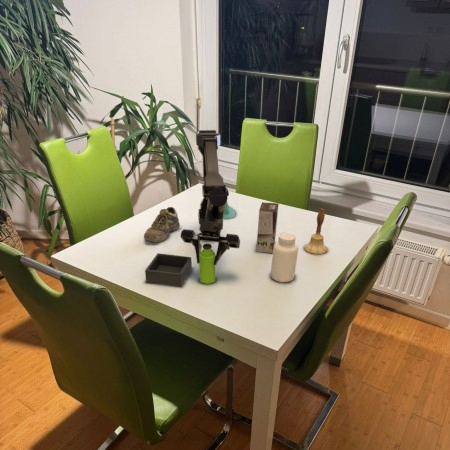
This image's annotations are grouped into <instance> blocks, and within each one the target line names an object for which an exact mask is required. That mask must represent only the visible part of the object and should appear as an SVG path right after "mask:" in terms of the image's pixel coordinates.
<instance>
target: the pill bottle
mask: <svg viewBox="0 0 450 450" xmlns="http://www.w3.org/2000/svg"><path fill="white" fill-rule="evenodd" d="M298 253H299V246H298V244H297V243H296V235H295V234H293V233H290V232H281V233H279V235H278V241H275V244H274V248H273V252H272V258H271V268H270V276H271V278H272V279H273V280H274V281H277V282H280V283H288V282H291V281H293V280H294V278H295V275H296V269H297V268H296V266H297V259H298V255H299V254H298Z"/></svg>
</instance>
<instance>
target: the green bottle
mask: <svg viewBox="0 0 450 450" xmlns="http://www.w3.org/2000/svg"><path fill="white" fill-rule="evenodd" d="M212 247H213V246H212V244H211V243H204V244H202V249H201V252H200V253H199V266H198V268H199V269H198V270H199V281H200V282H201V283H203V284H207V285H209V284H212V283H215V281H216V265H214V261H215V256H216V252H215V251H214V250H213V249H212Z"/></svg>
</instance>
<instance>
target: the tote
mask: <svg viewBox="0 0 450 450" xmlns="http://www.w3.org/2000/svg"><path fill="white" fill-rule="evenodd" d="M192 264H193V263H192V256H187V255H186V256H185V255H175V254H167V253H160V252H159V253H158V252H157V253H156V255H155V256H154V258H153V259H151V261H150V263H149V264H148V265H147V267H146V268H145V270H144V274H145V282H146V283H149V284H156V285H157V284H158V285H166V286H174V287H180V288H181V287H183V286H184V284H185V282H186V280H187V278H188V277H189V275H190V273H191V271H192V269H193V265H192Z"/></svg>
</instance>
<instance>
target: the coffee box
mask: <svg viewBox="0 0 450 450" xmlns="http://www.w3.org/2000/svg"><path fill="white" fill-rule="evenodd" d="M278 213H279V203H276V202H263V201H262V202H261V204H260V207H259V210H258V222H257V235H256V247H255V248H256V252H259V253H260V252H261V253H269V254H273V248H274V244H275V243H276V237H277V236H276V235H277V224H278V215H279V214H278Z"/></svg>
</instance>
